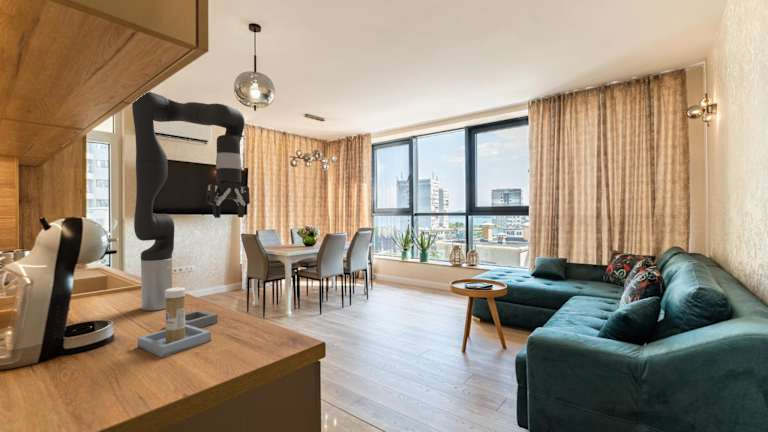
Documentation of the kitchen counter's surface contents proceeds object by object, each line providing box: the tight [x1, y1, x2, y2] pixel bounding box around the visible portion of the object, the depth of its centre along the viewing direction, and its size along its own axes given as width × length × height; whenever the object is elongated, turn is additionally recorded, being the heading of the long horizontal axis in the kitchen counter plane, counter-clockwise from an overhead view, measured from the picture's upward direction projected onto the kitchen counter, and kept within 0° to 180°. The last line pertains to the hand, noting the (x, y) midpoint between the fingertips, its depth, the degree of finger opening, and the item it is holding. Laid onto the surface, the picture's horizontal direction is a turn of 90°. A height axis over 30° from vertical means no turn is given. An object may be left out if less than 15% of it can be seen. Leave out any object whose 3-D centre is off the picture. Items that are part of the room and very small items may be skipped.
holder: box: [185, 309, 218, 329], centre depth 104 cm, size 10×10×2 cm
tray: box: [137, 324, 212, 358], centre depth 89 cm, size 12×12×2 cm
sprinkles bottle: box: [165, 286, 186, 343], centre depth 89 cm, size 5×5×14 cm
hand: (229, 217), depth 114 cm, fingers open, 8 cm apart
